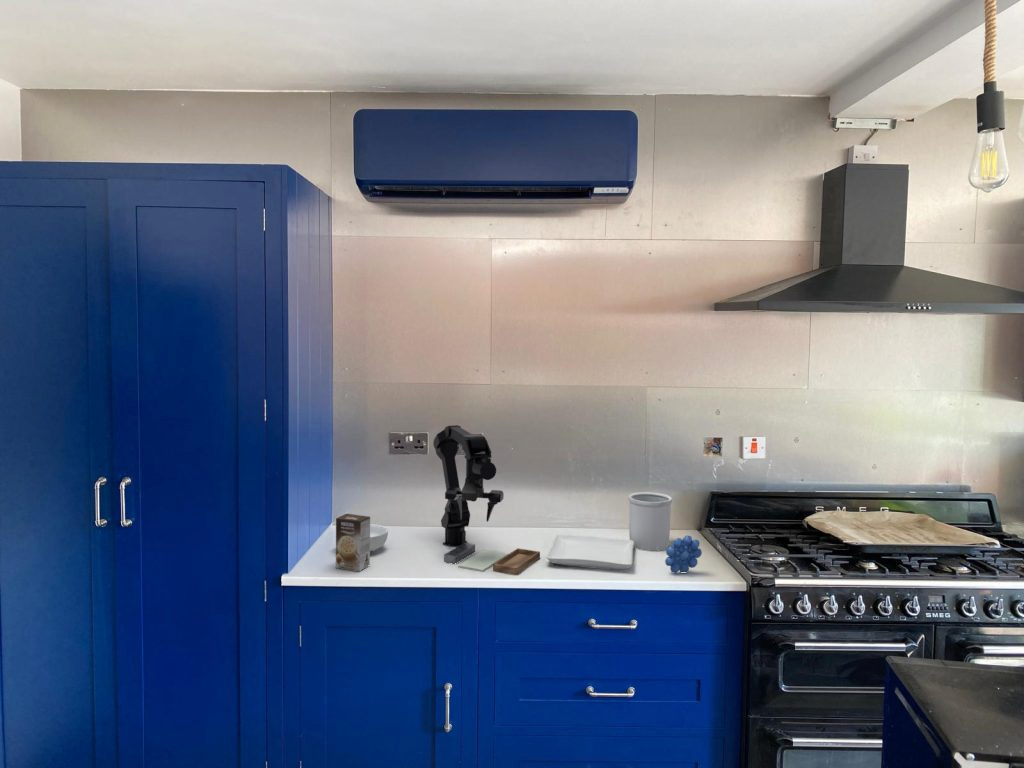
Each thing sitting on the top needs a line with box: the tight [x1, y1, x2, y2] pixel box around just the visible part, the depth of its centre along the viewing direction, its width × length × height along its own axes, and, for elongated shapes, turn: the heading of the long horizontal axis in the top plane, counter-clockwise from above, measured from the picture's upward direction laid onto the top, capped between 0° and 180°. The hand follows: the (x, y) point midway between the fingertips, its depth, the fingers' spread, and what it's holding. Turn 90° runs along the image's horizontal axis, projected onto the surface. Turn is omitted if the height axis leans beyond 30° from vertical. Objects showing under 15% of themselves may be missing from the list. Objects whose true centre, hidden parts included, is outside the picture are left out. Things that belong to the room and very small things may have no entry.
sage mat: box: [457, 549, 509, 572], centre depth 216 cm, size 9×18×1 cm, turn 155°
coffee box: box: [335, 513, 371, 572], centre depth 209 cm, size 9×6×16 cm
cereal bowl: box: [370, 523, 389, 552], centre depth 226 cm, size 17×17×7 cm
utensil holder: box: [628, 491, 673, 552], centre depth 235 cm, size 15×15×18 cm
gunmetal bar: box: [443, 542, 476, 565], centre depth 220 cm, size 4×14×3 cm, turn 155°
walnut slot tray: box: [492, 548, 541, 576], centre depth 213 cm, size 8×18×2 cm, turn 155°
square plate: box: [545, 534, 634, 570], centre depth 221 cm, size 27×27×4 cm
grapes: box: [664, 535, 702, 573], centre depth 207 cm, size 12×7×12 cm, turn 96°
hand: (474, 520), depth 220 cm, fingers open, 9 cm apart
